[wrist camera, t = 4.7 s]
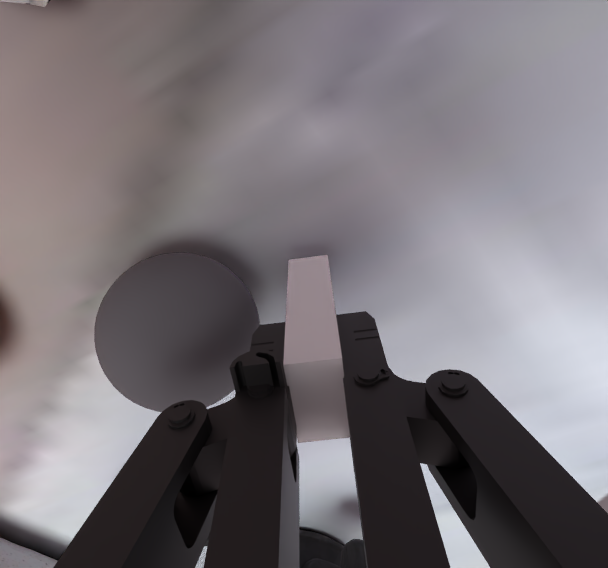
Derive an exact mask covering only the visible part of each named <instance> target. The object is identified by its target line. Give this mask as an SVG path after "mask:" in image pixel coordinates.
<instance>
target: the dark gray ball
mask: <svg viewBox="0 0 608 568" xmlns="http://www.w3.org/2000/svg"><path fill="white" fill-rule="evenodd" d="M259 326H260V324H259V316H258V311H257V307H256V305H255V302H254V300H253V298H252V295H251V294H250V292H249V290H248V289H247V287H246V286H245V284H244V283H243V282H242V281H241V279H240V278H239V277H238V276H237V275H235V274H234V273H233V272H232V271H231V270H230V269H229V268H227V267H226V266H224V265H222V264H221V263H219V262H217V261H215V260H213V259H211V258H208V257H205V256H201V255H197V254H192V253H167V254H161V255H157V256H154V257H151V258H148V259H146V260H143V261H141V262H139V263H137V264H136V265H134V266H132V267H131V268H129V269H128V270H127V271H126V272H124V273H123V274H122V275H121V276H120V277H119V278H118V279H117V280H116V281H115V282H114V283H113V285H112V286H111V287H110V289H109V290H108V292H107V293H106V295H105V296H104V298H103V300H102V302H101V305H100V307H99V310H98V313H97V317H96V322H95V348H96V353H97V356H98V360H99V363H100V365H101V367H102V369H103V371H104V373H105V375H106V376H107V378H108V379H109V381H110V382H111V383H112V385H113V386H114V387H115V388H116V389H117V390H118V391H119V392H120V393H121V394H123V395H124V396H125V397H126V398H128V399H129V400H131V401H132V402H134V403H136V404H138V405H140V406H143V407H145V408H147V409H151V410H155V411H159V412H163V411H164V410H165V409H166V408H168V407H169V406H171V405H173V404H175V403H178V402H181V401H186V400H195V401H199V402H201V403H203V404H204V405H205V406H206V407H208V406H210V405H212V404H214V403H216V402H218V401H219V400H221V399H223V398H224V397H225V396H227V395H228V394H229V393H231V392H232V391H233V390H234V389H235V388H234V384H233V380H232V376H231V372H230V369H229V367H230V365H231V364H232V362H233V361H234V360H235V359H236V358H237V357H238V356H240V355H242V354H244V353H246V352H249V351H250V346H251V340H252V334H253V333H254V332H255V331H256V329H257V328H258V327H259Z"/></svg>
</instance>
